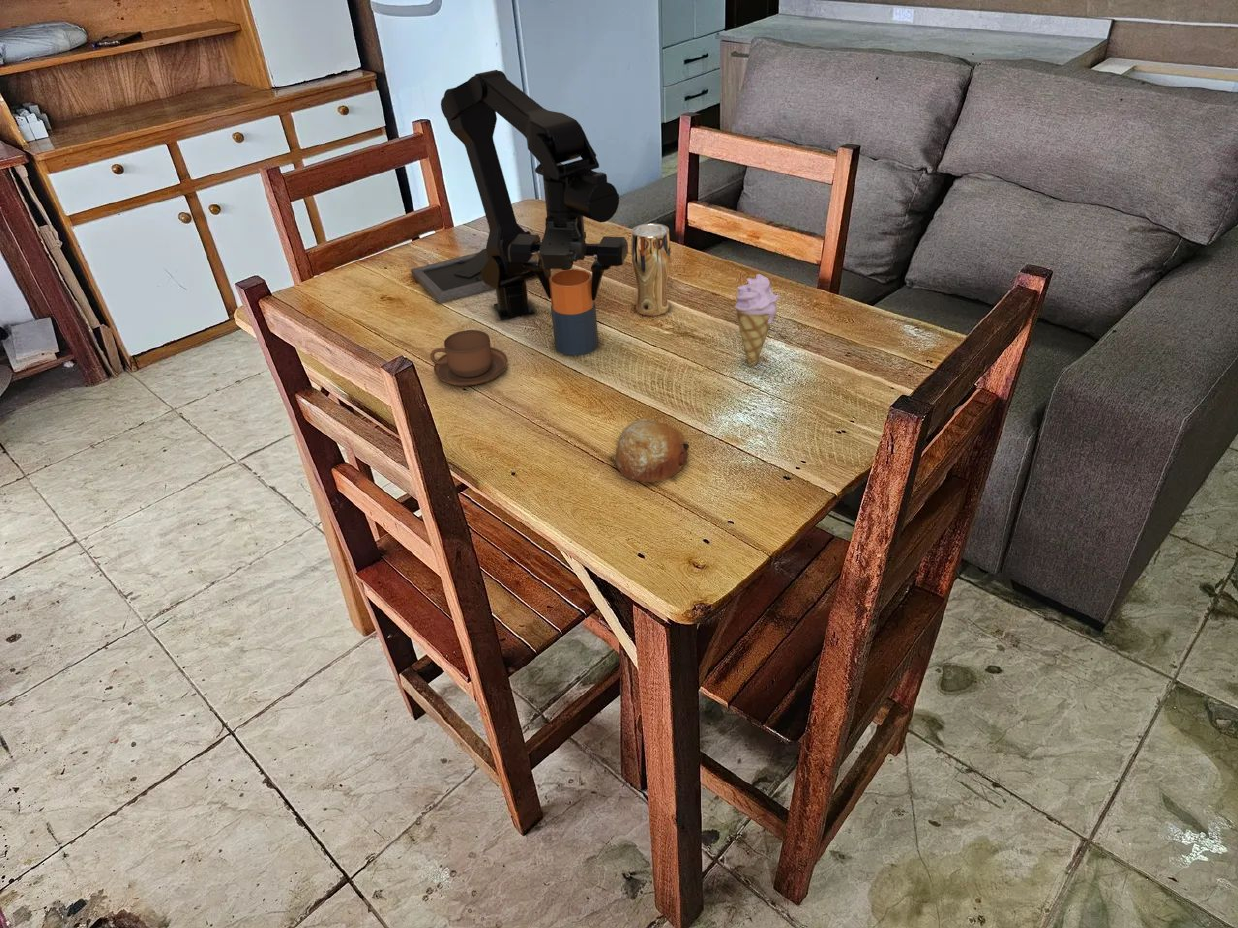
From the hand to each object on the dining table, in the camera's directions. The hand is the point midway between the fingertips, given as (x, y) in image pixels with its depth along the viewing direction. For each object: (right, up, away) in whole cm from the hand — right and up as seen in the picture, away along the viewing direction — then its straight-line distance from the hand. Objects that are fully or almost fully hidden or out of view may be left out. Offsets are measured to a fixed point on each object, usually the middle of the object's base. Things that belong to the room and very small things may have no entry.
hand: (572, 298), depth 138 cm
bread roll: (+12, -27, -23) cm, 38 cm away
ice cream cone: (+30, -11, -3) cm, 32 cm away
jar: (+1, -7, +5) cm, 9 cm away
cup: (0, -1, +1) cm, 1 cm away
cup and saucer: (-16, -13, -1) cm, 21 cm away
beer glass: (+14, +1, +15) cm, 21 cm away
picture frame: (-22, +11, +31) cm, 40 cm away
